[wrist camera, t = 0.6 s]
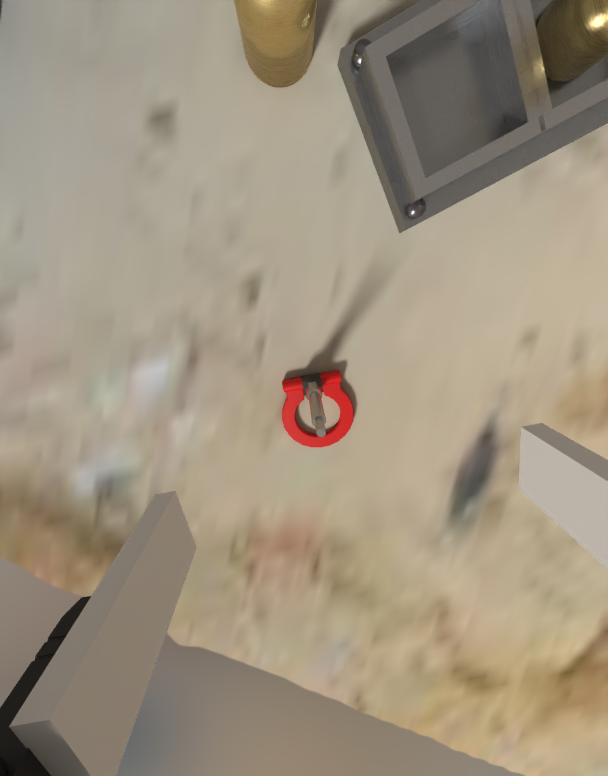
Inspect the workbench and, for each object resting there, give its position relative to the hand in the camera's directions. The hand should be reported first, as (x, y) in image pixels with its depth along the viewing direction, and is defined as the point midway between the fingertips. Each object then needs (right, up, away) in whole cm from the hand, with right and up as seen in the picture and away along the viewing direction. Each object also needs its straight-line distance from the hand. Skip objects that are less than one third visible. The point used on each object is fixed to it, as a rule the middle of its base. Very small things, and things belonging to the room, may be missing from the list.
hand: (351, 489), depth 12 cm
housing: (+15, +31, +17) cm, 39 cm away
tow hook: (0, +1, +26) cm, 26 cm away
